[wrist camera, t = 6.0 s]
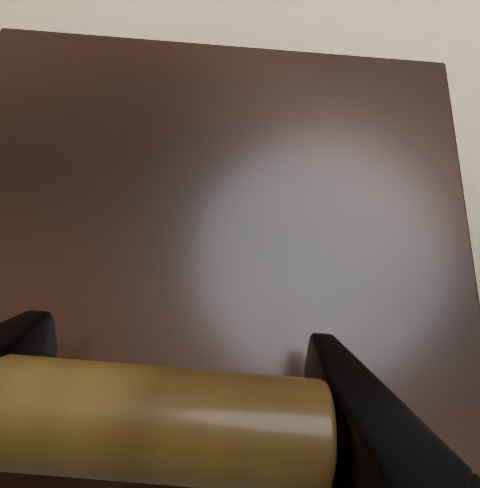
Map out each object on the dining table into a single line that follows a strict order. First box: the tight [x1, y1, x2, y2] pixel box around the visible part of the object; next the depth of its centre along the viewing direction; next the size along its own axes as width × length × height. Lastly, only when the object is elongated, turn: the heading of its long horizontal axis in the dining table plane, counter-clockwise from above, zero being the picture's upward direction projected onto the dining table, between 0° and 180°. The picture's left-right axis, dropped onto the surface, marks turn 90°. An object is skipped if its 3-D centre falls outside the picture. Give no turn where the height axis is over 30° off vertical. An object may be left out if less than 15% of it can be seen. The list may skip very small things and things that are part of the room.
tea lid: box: [0, 28, 480, 488], centre depth 9 cm, size 12×14×4 cm
